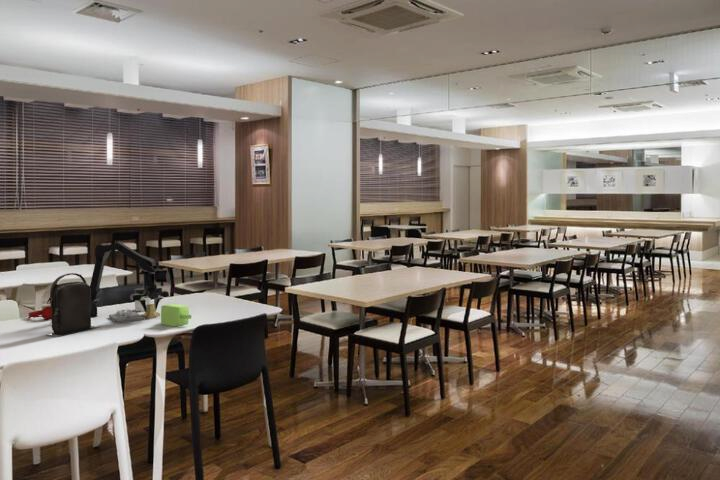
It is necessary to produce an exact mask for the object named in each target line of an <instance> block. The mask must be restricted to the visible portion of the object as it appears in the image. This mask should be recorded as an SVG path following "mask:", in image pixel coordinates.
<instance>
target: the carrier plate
mask: <svg viewBox="0 0 720 480" xmlns="http://www.w3.org/2000/svg"><path fill="white" fill-rule="evenodd" d="M108 317H109V319H110V320H111V321H114V322H115V323H116V324H117V325H119V324H127V323H133V322H134V323H135V322H140V321H142V320H143V321H146V318H145V317H143V316H141V314H139V313H138V312H137V311H132V310H131V309H121V310H117V311H116V313H115V314H114V313H113V314H109V315H108Z"/></svg>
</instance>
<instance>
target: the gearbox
mask: <svg viewBox="0 0 720 480" xmlns="http://www.w3.org/2000/svg"><path fill="white" fill-rule="evenodd" d="M160 307H161V308H160V324H161V325H166V326H172V327H180V325H181V326H185V325H187V324H189V319H190V320H191V319H192V314H191V313H190V314H189V310H190V309H189V307H190V306H188V305H183V304H179V303H178V304H177V303H172V304H165V305H161V306H160ZM184 324H185V325H184Z"/></svg>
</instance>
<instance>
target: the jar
mask: <svg viewBox="0 0 720 480" xmlns="http://www.w3.org/2000/svg"><path fill="white" fill-rule="evenodd" d="M143 292H144V287H137V288H135V289H134V294H137V293H138V294H140V295H143V294H144V293H143ZM151 299H152V298H149V297H148V298H144V300H146V302H145V304H146V305H148V304H152V302H151V301H152V300H151ZM134 312H145V311H144V309H143V307H142V305H141V303H140V301H138V300H137V301H134Z"/></svg>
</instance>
